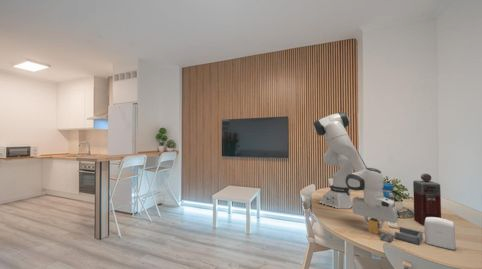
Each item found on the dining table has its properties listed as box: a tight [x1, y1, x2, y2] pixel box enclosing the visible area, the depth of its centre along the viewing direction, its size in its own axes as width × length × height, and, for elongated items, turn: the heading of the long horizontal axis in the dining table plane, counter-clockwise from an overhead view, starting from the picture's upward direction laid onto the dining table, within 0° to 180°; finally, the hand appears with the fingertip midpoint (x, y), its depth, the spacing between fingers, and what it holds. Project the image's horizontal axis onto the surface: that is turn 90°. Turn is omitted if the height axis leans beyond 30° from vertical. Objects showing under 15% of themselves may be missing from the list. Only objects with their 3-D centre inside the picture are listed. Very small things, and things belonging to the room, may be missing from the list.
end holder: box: [394, 226, 424, 246], centre depth 106 cm, size 9×10×3 cm
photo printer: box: [424, 217, 457, 251], centre depth 99 cm, size 10×4×12 cm, turn 47°
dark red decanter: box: [412, 173, 442, 227], centre depth 124 cm, size 9×11×28 cm
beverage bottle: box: [383, 183, 396, 208], centre depth 135 cm, size 8×8×20 cm
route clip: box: [380, 232, 394, 244], centre depth 105 cm, size 4×5×2 cm
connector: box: [368, 217, 381, 235], centre depth 114 cm, size 4×4×7 cm
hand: (374, 226), depth 114 cm, fingers closed on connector, 4 cm apart
